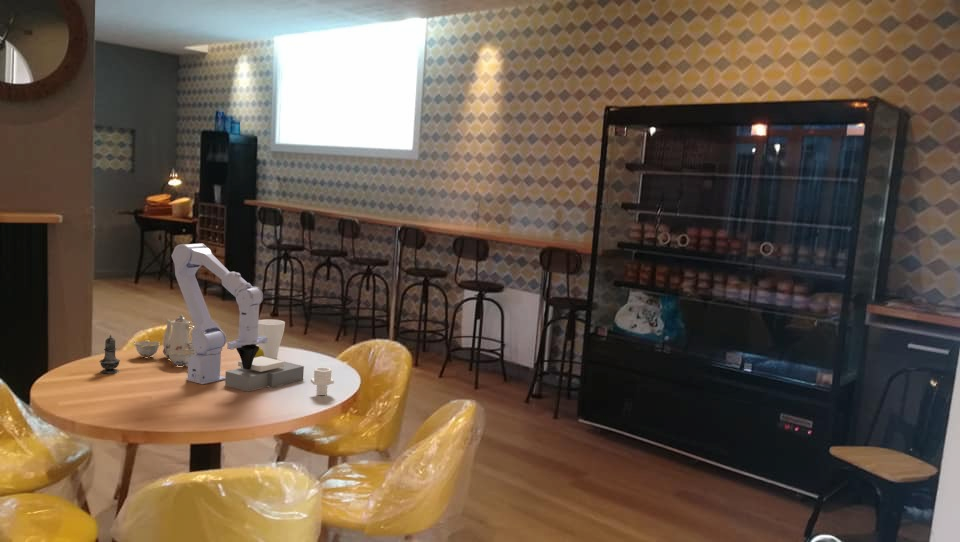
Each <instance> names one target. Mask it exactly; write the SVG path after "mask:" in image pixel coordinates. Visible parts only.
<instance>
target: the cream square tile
mask: <svg viewBox="0 0 960 542" xmlns="http://www.w3.org/2000/svg"><path fill="white" fill-rule="evenodd" d="M284 362H285V360H284V361H283V360H279V359H271V358H267V357H263V356H261V357H256V358H254V359H253V362H252V365H251V370H255V371H259V372H262V371H267V370H271V369H275V368H279V367H283V366H284ZM237 367H239V368H241V367H243V365H242V361H241V360H238V361H237Z"/></svg>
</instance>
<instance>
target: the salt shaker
mask: <svg viewBox="0 0 960 542" xmlns="http://www.w3.org/2000/svg"><path fill="white" fill-rule="evenodd" d="M104 345H105V347H104V349H103V350H104V358H103V359H101V360H99V363H100V366H101V368H103V369H101V370H100V371H99V372H100V374H102V375H103V374H104V375H106V374H107V375H111V374H117V372H118V373H119V372H120V370H119V369H117V368H118V367H119V365H120V362H121V359H118V358H117V355H116V350H117V347H116V338H114V337H112V335H109V337H108V338H106V339H105V344H104Z"/></svg>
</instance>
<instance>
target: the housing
mask: <svg viewBox="0 0 960 542" xmlns="http://www.w3.org/2000/svg"><path fill="white" fill-rule="evenodd" d="M304 368H305V366H304V365H301V364H296V363H292V362H288V361H284V366H283V367H279V368H275V369H271V370H267V371H262V372H259V371H255V370H251V369H244V368H243V367H239V368H235V369H230V370H226V371H225V376H224V377H225V379H224V383H225V384H224V385H225V386H226V385H227V387H229V386H231V387H230V388H233V387H234V389H237V390H240V389H241V391H244V392H251V390H252V391H256V390H260V389H262V388H263V389H264V388H267V387H268V388H276V387H280V386H284V385H288V384H290V382H291V383H294V382H299V381H302V379H303V380H304V372H305V371H304ZM298 380H299V381H298ZM259 388H260V389H259ZM255 389H256V390H255Z"/></svg>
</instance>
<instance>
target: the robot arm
mask: <svg viewBox="0 0 960 542" xmlns="http://www.w3.org/2000/svg"><path fill="white" fill-rule="evenodd" d="M170 256H171V258H172V261H173V264H174V274H175V278H176V281H177V284H178V286H179V288H180V292H181V295H182V297H183V299H184V302H185V306H186V307H187V310H188V313H189V315H190V318H191V320H192V321H191V322H192V323H193V326H194V328H192V329H191V330H190V332H189V334H190V337H191V341H192V346H193V348H194V350H195V351H196V354H195V355H192V356H191V357H190V358H189V360H188V366H187V378H185V381H188V382H189V381H190V382H192V383H197V384H200V385H205V384H210V383H214V382H219V381H222V380H225V376H223V375H221V360H222V359H221V357H222V351H223V347H225V345H226V346H227V350H230V351H231V350H235V349H236V351H237V353H238V355H239V357H240V361H242V365H243V368H244V369H251V365H252V362H253V359H254V357H255V355H256V353H257V352H258V350H259V344H262V343H267V339H268V337H264V336H262V337H258V320H260V319H259V317H260V316H259V315H260V304H261V303H263V300H264V293H263V291H262V290H261V288H260V287H258V286H252V284H251V283H250V282H247V281H246V280H245V279H244V278H243V277H242V275H241V273H240V272H236V271H229V270H228V268H227V267H225V265H224V264H223V263H222V262H221V261H220V260H219V259H218V258H217V257H216V256H215V255H214V254H213V253H212V250H211V249H210V248H209V247H208V246H207V245H205V243H202V242H201V243H200V242H198V243H197V242H196V243H186V244H185V243H184V244H183V243H180V244H178V245H176V246H175V247H174V249H173V251H172V252H171V255H170ZM202 266H204V268H206V269H207V270H209V271H210V272H211V273H213V274H214V275H215V276H216V277H218V279H220V280H221V286H223V288H224V289H226V290H227V291H228V292H229V293H230V294H231V295H233V297H235V300H236V303H237V305H238V311H239V315H238V316H239V317H238V318H239V319H238V320H239V322H238V338H237V339H235V340H233V341H227V335H226V333H225V332H224V331H223V330H222V329H221V326H220V324H219V323H217V322H216V321H214V320H213V319H212V315H211V314H210V311H209V308H208V306H207V304H206V301H205V299H204V295H203V293H202V290H201V288H200V285H199V282H198V280H197V278H196V277H197V276H196V274H197V271H198V270H199V269H200V268H201V267H202ZM226 343H227V344H226Z"/></svg>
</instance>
